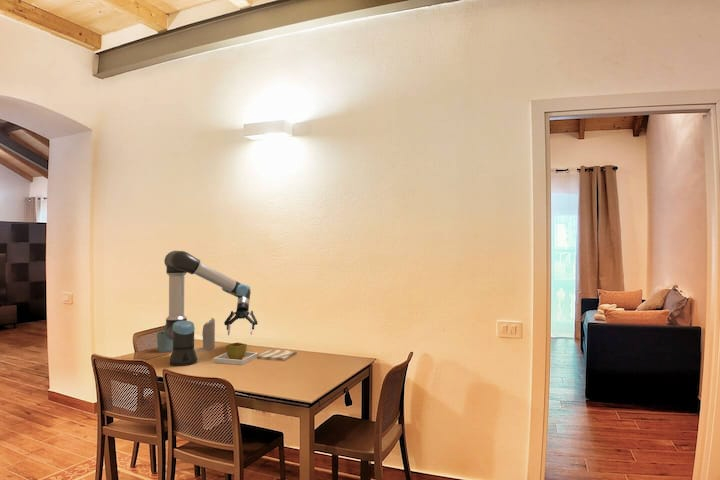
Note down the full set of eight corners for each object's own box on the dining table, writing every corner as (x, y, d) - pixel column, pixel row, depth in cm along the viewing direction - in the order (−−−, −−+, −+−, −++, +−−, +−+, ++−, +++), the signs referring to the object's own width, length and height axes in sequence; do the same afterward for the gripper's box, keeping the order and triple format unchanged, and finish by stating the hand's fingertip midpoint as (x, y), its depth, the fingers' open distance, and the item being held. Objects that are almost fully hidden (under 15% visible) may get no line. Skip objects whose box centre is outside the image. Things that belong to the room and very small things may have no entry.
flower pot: (246, 359, 265) (247, 344, 265) (235, 362, 258) (235, 346, 258) (236, 357, 270) (236, 342, 270) (225, 360, 262) (225, 345, 262)
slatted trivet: (257, 358, 266) (257, 356, 266) (270, 351, 283) (270, 349, 283) (284, 360, 261) (284, 358, 261) (296, 353, 278) (296, 351, 278)
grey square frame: (212, 362, 257) (212, 358, 257) (230, 354, 275) (230, 350, 275) (242, 364, 252) (242, 360, 252) (258, 356, 270) (258, 352, 270)
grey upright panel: (192, 349, 290) (192, 318, 290) (214, 347, 294) (214, 317, 294) (191, 351, 283) (191, 320, 283) (214, 350, 287) (214, 319, 288)
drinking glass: (153, 351, 282) (153, 333, 283) (164, 348, 292) (164, 330, 292) (166, 353, 280) (166, 334, 280) (177, 349, 289) (177, 331, 289)
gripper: (262, 309, 292) (260, 336, 277) (223, 309, 289) (219, 337, 274) (262, 302, 287) (260, 329, 272) (222, 302, 284) (218, 330, 269)
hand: (239, 333), depth 273 cm, fingers open, 13 cm apart
